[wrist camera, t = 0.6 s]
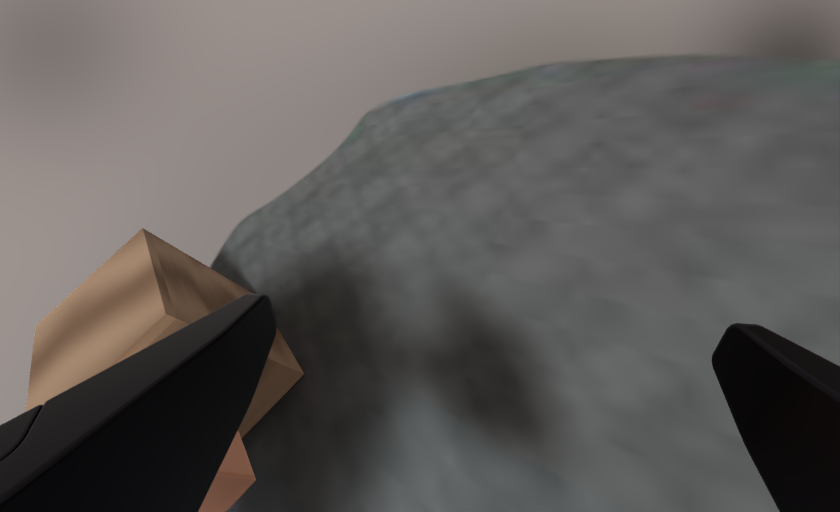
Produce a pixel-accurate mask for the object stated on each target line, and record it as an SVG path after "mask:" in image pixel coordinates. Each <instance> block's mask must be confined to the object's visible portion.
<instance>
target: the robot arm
mask: <svg viewBox="0 0 840 512" xmlns="http://www.w3.org/2000/svg"><path fill="white" fill-rule="evenodd" d="M276 331H277V325H276V321H275V317H274V313H273V309H272V305H271V302H270V299H269V297H268V296H267V295H264V294H245V295H243V296H241V297H239V298H238V299H236V300H234V301H232V302H230V303H228V304H226V305H225V306H223V307H221V308H219V309H217V310H215V311H213V312H211V313H210V314H208V315H206V316H204V317H202V318H200V319H198V320H196V321H195V322H193V323H191V324H189V325H187V326H185V327H183V328H182V329H180V330H178V331H176V332H174V333H172V334H170V335H168V336H167V337H165V338H163V339H161V340H159V341H157V342H155V343H154V344H152V345H150V346H148V347H146V348H144V349H142V350H140V351H139V352H137V353H135V354H133V355H131V356H129V357H127V358H125V359H124V360H122V361H120V362H118V363H116V364H114V365H112V366H111V367H109V368H107V369H105V370H103V371H101V372H99V373H97V374H96V375H94V376H92V377H90V378H88V379H86V380H84V381H83V382H81V383H79V384H77V385H75V386H73V387H71V388H69V389H68V390H66V391H64V392H62V393H60V394H58V395H56V396H54V397H53V398H51V399H49V400H47V401H46V402H45V403H44V405H37V406H36V407H34V408H32V409H30V410H28V411H26V412H24V413H23V414H21V415H19V416H17V417H15V418H13V419H12V420H10V421H8V422H6V423H4V424H2V425H0V512H198V511H199V509H200V507H201V505H202V503H203V501H204V499H205V497H206V495H207V493H208V491H209V489H210V487H211V484H212V482H213V480H214V478H215V476H216V474H217V472H218V470H219V468H220V466H221V464H222V462H223V460H224V458H225V456H226V454H227V452H228V450H229V448H230V446H231V443H232V441H233V439H234V437H235V435H236V433H237V431H238V429H239V427H240V425H241V423H242V421H243V419H244V417H245V415H246V413H247V410H248V408H249V406H250V404H251V402H252V399H253V397H254V394H255V392H256V389H257V386H258V383H259V380H260V378H261V375H262V372H263V369H264V367H265V364H266V361H267V358H268V356H269V353H270V350H271V347H272V344H273V342H274V339H275V336H276ZM712 365H713V369H714V371H715V374H716V376H717V379H718V381H719V384H720V386H721V389H722V391H723V393H724V396H725V398H726V401H727V403H728V406H729V408H730V411H731V413H732V416H733V418H734V420H735V423H736V425H737V428H738V430H739V433H740V435H741V437H742V439H743V442H744V444H745V446H746V448H747V450H748V452H749V454H750V456H751V458H752V460H753V462H754V464H755V466H756V468H757V470H758V471H759V473H760V475H761V477H762V479H763V481H764V483H765V485H766V487H767V489H768V490H769V492H770V494H771V496H772V498H773V500H774V502H775V504H776V506H777V508H778V509H779V511H780V512H840V366H838V365H836V364H834V363H832V362H830V361H828V360H826V359H824V358H823V357H821V356H819V355H817V354H815V353H813V352H811V351H809V350H807V349H805V348H803V347H801V346H799V345H797V344H795V343H793V342H791V341H790V340H788V339H786V338H784V337H782V336H780V335H778V334H776V333H774V332H772V331H770V330H768V329H766V328H764V327H762V326H760V325H756V324H741V323H736V324H732V325H730V326H729V327H728V328H727V329H726V331H725V333H724V335H723V337H722V338H721V340H720V342H719V344H718V345H717V347H716V349H715V351H714V353H713V355H712Z"/></svg>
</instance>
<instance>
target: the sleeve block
mask: <svg viewBox="0 0 840 512" xmlns="http://www.w3.org/2000/svg"><path fill="white" fill-rule="evenodd" d="M245 294H253V293H251V292H250V291H248V290H246V289H245V288H243V287H241V286H240V285H238V284H236V283H234V282H233V281H231V280H229V279H228V278H226V277H224V276H223V275H221V274H219V273H218V272H216V271H214V270H213V269H211V268H209V267H207V266H206V265H204V264H202V263H201V262H199V261H197V260H195V259H194V258H192V257H191V256H189V255H187V254H185V253H184V252H182V251H180V250H179V249H177V248H175V247H173V246H172V245H170V244H169V243H167V242H165V241H163V240H162V239H160V238H158V237H157V236H155V235H153V234H152V233H150V232H148V231H146V230H145V229H141V230H140V231H139V232H138V233H137V234H136V235H135V236H134V237H133V238H132V239H131V240H129V241H128V242H127V243H126V244H125V245H124V246H123V247H122V248H121V249H119V250H118V251H117V252H116V253H115V254H114V255H113V256H112V257H111V258H110V259H109V260H107V261H106V262H105V263H104V264H103V265H102V266H101V267H100V268H99V269H97V270H96V271H95V272H94V273H93V274H92V275H91V276H90V277H89V278H88V279H87V280H85V281H84V282H83V283H82V284H81V285H80V286H79V287H78V288H77V289H76V290H74V291H73V292H72V293H71V294H70V295H69V296H68V297H67V298H66V299H65V300H64V301H62V302H61V303H60V304H59V305H58V306H57V307H56V308H55V309H54V310H53V311H51V312H50V313H49V314H48V315H47V316H46V317H45V318H44V319H43V320H42V321H40V322H39V323H38V324H37V325H36V328H35V336H34V345H33V354H32V363H31V371H30V381H29V389H28V397H27V406H26V411H28V410H30V409H32V408H34V407H36V406H37V405H44V403H45V402H46V401H47V400H49V399H51V398H53V397H54V396H56V395H58V394H60V393H62V392H64V391H66V390H68V389H69V388H71V387H73V386H75V385H77V384H79V383H81V382H83V381H84V380H86V379H88V378H90V377H92V376H94V375H96V374H97V373H99V372H101V371H103V370H105V369H107V368H109V367H111V366H112V365H114V364H116V363H118V362H120V361H122V360H124V359H125V358H127V357H129V356H131V355H133V354H135V353H137V352H139V351H140V350H142V349H144V348H146V347H148V346H150V345H152V344H154V343H155V342H157V341H159V340H161V339H163V338H165V337H167V336H168V335H170V334H172V333H174V332H176V331H178V330H180V329H182V328H183V327H185V326H187V325H189V324H191V323H193V322H195V321H196V320H198V319H200V318H202V317H204V316H206V315H208V314H210V313H211V312H213V311H215V310H217V309H219V308H221V307H223V306H225V305H226V304H228V303H230V302H232V301H234V300H236V299H238V298H239V297H241V296H243V295H245ZM303 375H304V373H303V371H302V369H301V367H300V366H299V364H298V362H297V360H296V359H295V357H294V355H293V354H292V352H291V350H290V348H289V347H288V345H287V343H286V341H285V340H284V338H283V336H282V334H281V333H280V331H279V329H278V327H277V331H276V336H275V339H274V342H273V344H272V347H271V350H270V353H269V356H268V358H267V361H266V364H265V367H264V369H263V372H262V375H261V378H260V380H259V383H258V386H257V389H256V392H255V394H254V397H253V399H252V402H251V404H250V406H249V408H248V410H247V413H246V415H245V417H244V419H243V421H242V423H241V425H240V427H239V429H238V431H239V433H240V436H241V439H242V438H243V437H244V436H245V435H246V434H247V433H248V432H249V430H250V429H251V428H252V427H253V426H254V425H255V424H256V423H257V422H258V421H259V420H260V419H261V418H262V417H263V416H264V415H265V414H266V413H267V412H268V411H269V410H270V409H271V408H272V407H273V406H274V405H275V404H276V403H277V402H278V401H279V400H280V399H281V398H282V397H283V396H284V395H285V394H286V393H287V392H288V390H289V389H290V388H291V387H292V386H293V385H294V384H295V383H296V382H297V381H298V380H299V379H300V378H301V377H302V376H303Z"/></svg>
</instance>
